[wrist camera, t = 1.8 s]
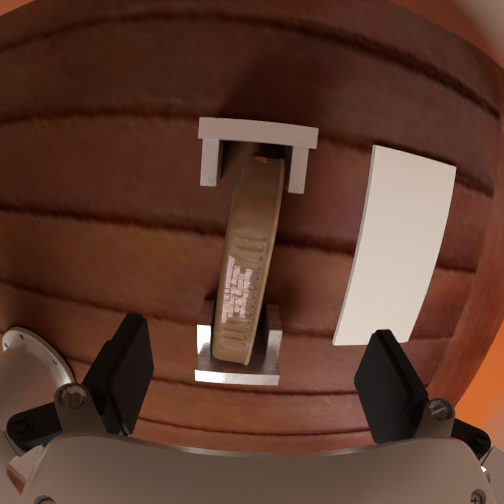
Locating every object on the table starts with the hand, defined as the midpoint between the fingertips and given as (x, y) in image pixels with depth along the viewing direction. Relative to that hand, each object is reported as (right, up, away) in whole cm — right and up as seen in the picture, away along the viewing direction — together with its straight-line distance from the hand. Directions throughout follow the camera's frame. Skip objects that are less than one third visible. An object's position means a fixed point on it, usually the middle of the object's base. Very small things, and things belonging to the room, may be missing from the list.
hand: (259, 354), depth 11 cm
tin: (-1, +5, +13) cm, 14 cm away
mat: (+13, +4, +13) cm, 19 cm away
